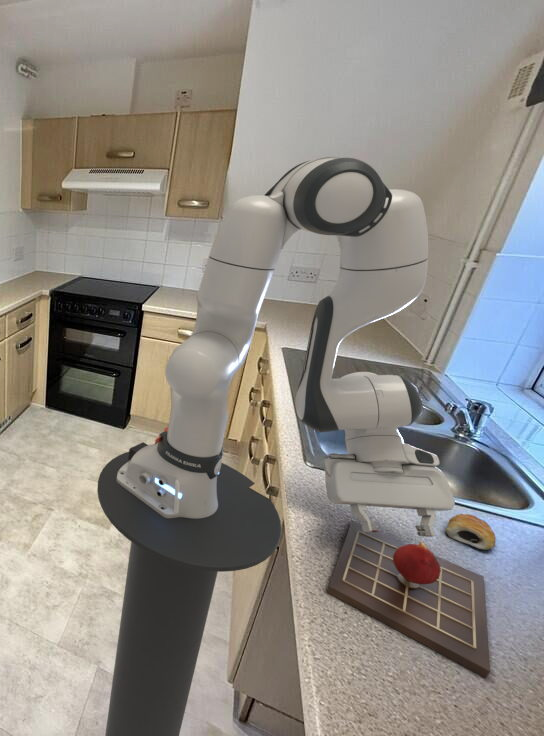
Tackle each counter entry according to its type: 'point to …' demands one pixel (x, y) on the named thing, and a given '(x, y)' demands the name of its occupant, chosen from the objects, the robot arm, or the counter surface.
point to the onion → (417, 564)
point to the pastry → (471, 531)
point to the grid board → (415, 598)
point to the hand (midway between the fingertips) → (398, 534)
